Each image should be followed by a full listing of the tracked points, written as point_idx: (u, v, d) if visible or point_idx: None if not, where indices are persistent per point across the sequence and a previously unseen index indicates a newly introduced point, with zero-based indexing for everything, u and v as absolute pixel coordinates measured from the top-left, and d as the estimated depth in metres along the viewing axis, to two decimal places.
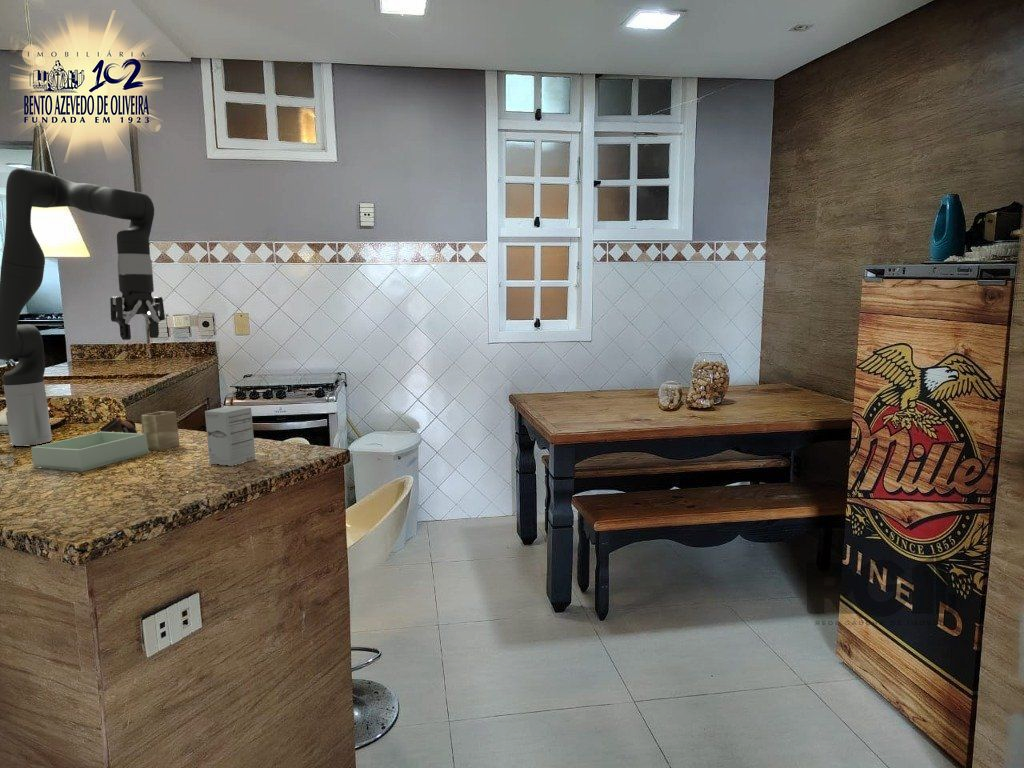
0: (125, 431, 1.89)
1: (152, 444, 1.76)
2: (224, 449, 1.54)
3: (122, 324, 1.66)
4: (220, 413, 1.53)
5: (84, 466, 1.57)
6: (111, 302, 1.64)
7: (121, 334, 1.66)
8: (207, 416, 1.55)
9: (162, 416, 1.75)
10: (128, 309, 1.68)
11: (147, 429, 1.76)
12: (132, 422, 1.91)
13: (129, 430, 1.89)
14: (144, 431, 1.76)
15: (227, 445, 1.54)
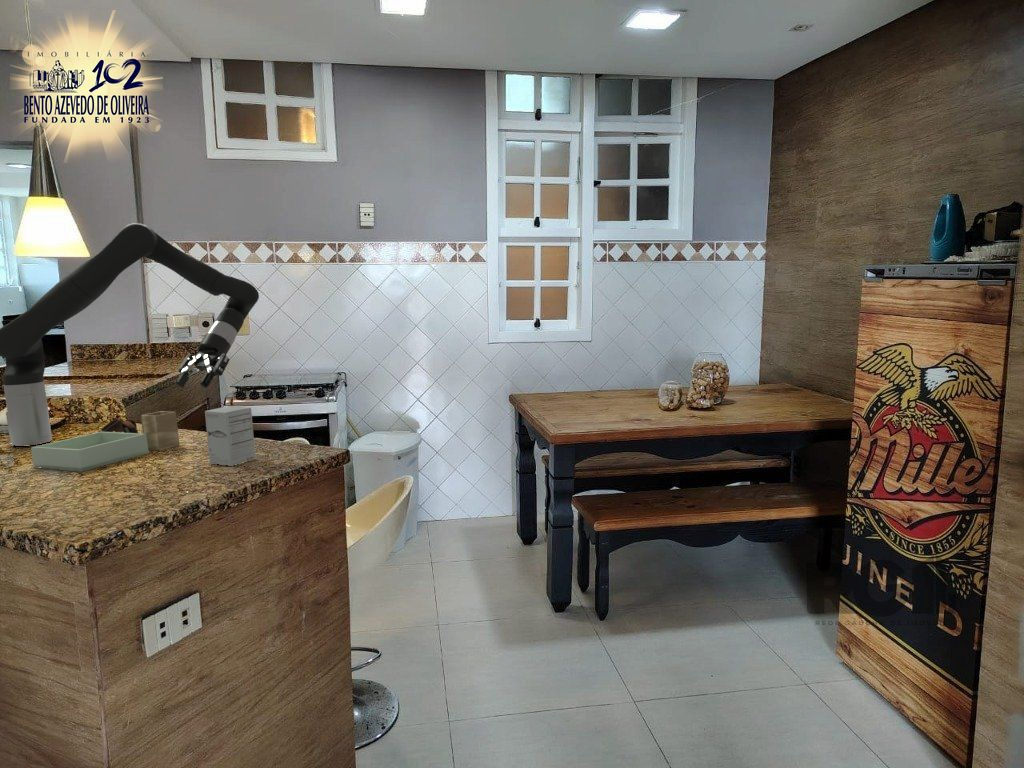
0: (126, 431, 1.89)
1: (152, 444, 1.76)
2: (224, 449, 1.54)
3: (213, 375, 1.88)
4: (220, 413, 1.53)
5: (84, 466, 1.57)
6: (223, 358, 1.89)
7: (207, 381, 1.86)
8: (207, 416, 1.55)
9: (162, 416, 1.75)
10: (211, 364, 1.90)
11: (147, 429, 1.76)
12: (133, 422, 1.91)
13: (130, 430, 1.89)
14: (144, 431, 1.76)
15: (227, 445, 1.54)
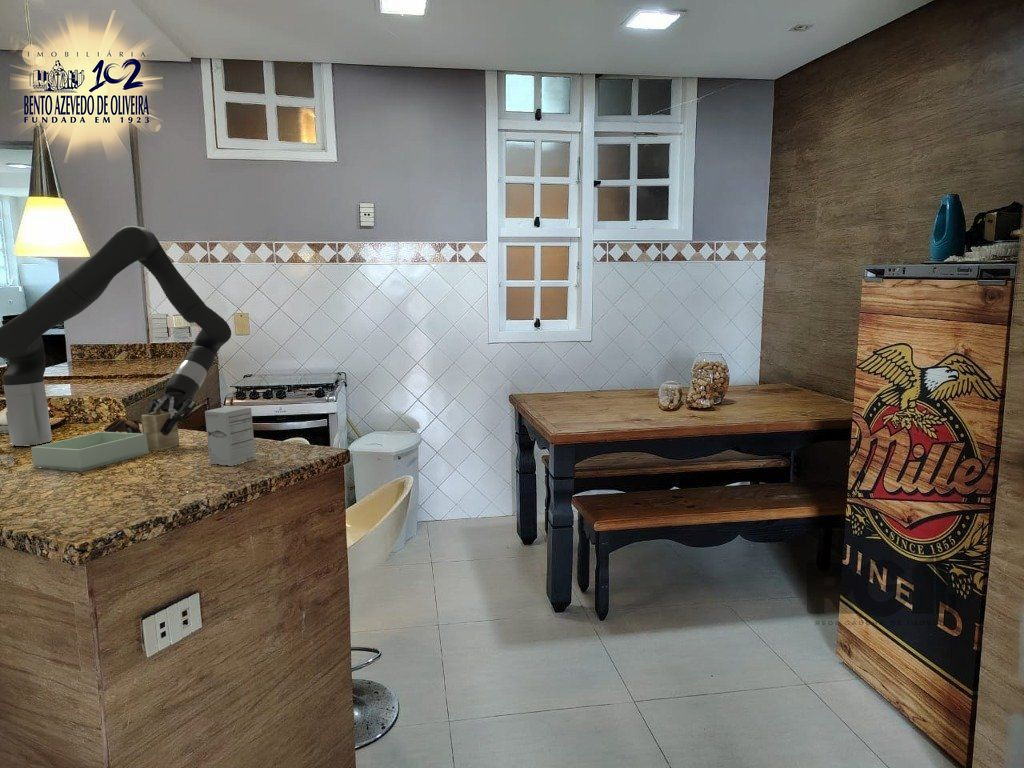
0: (129, 431, 1.89)
1: (152, 444, 1.76)
2: (224, 449, 1.54)
3: (175, 422, 1.77)
4: (220, 413, 1.53)
5: (84, 466, 1.57)
6: (188, 403, 1.78)
7: (168, 428, 1.76)
8: (207, 416, 1.55)
9: (162, 416, 1.75)
10: (176, 408, 1.80)
11: (147, 429, 1.76)
12: (136, 422, 1.91)
13: (133, 430, 1.89)
14: (144, 431, 1.76)
15: (227, 445, 1.54)
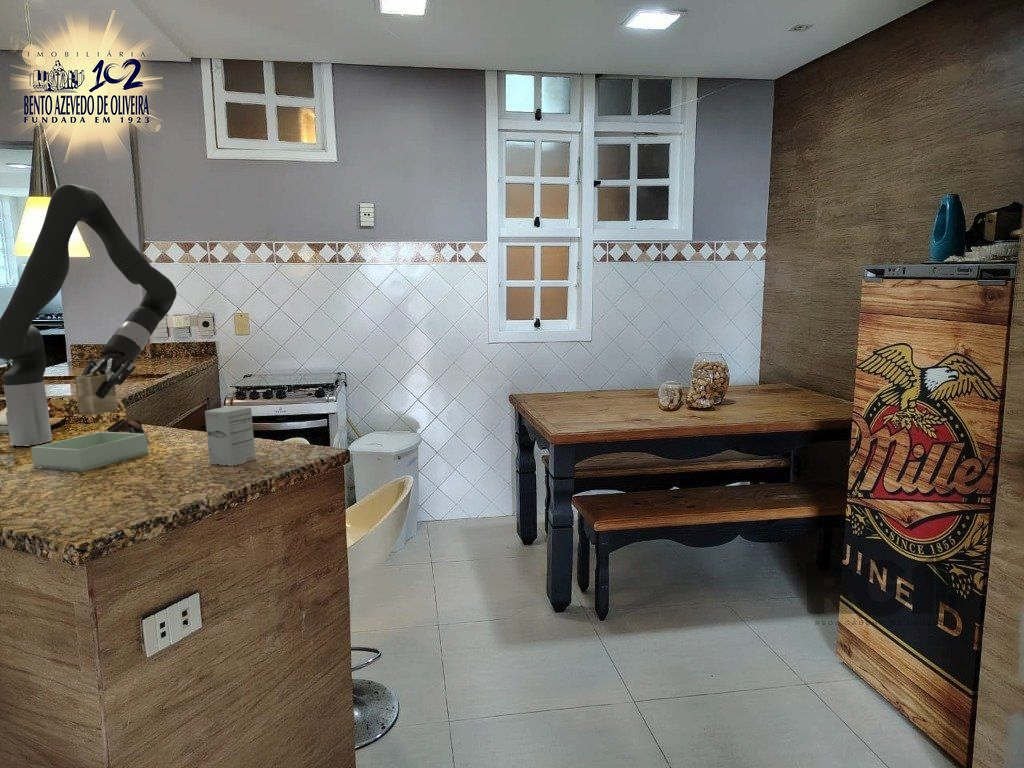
0: (132, 431, 1.89)
1: (87, 408, 1.65)
2: (224, 449, 1.54)
3: (111, 385, 1.67)
4: (220, 413, 1.53)
5: (84, 466, 1.57)
6: (127, 365, 1.68)
7: (103, 391, 1.65)
8: (207, 416, 1.55)
9: (98, 378, 1.65)
10: (114, 371, 1.69)
11: (81, 392, 1.65)
12: (139, 422, 1.90)
13: (136, 430, 1.88)
14: (78, 394, 1.65)
15: (227, 445, 1.54)
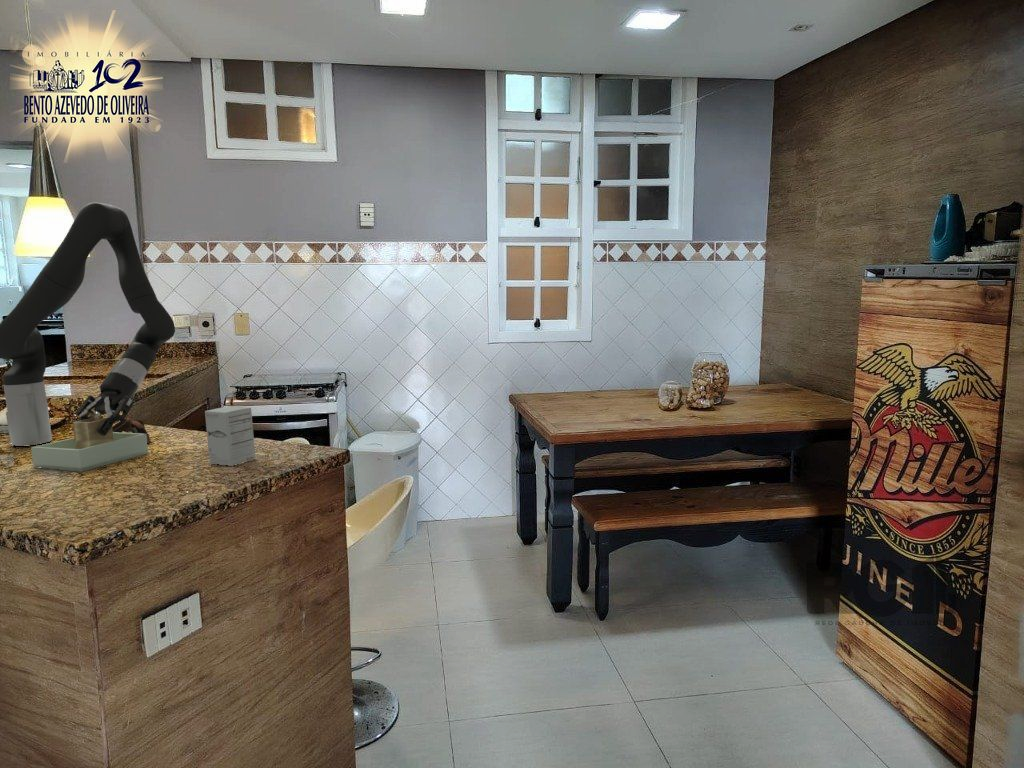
0: (134, 431, 1.88)
1: None
2: (224, 449, 1.54)
3: (113, 421, 1.66)
4: (220, 413, 1.53)
5: (84, 466, 1.57)
6: (126, 401, 1.68)
7: (105, 428, 1.64)
8: (207, 416, 1.55)
9: (95, 423, 1.65)
10: (112, 408, 1.69)
11: (79, 437, 1.65)
12: (141, 422, 1.90)
13: (138, 430, 1.88)
14: (76, 439, 1.65)
15: (227, 445, 1.54)
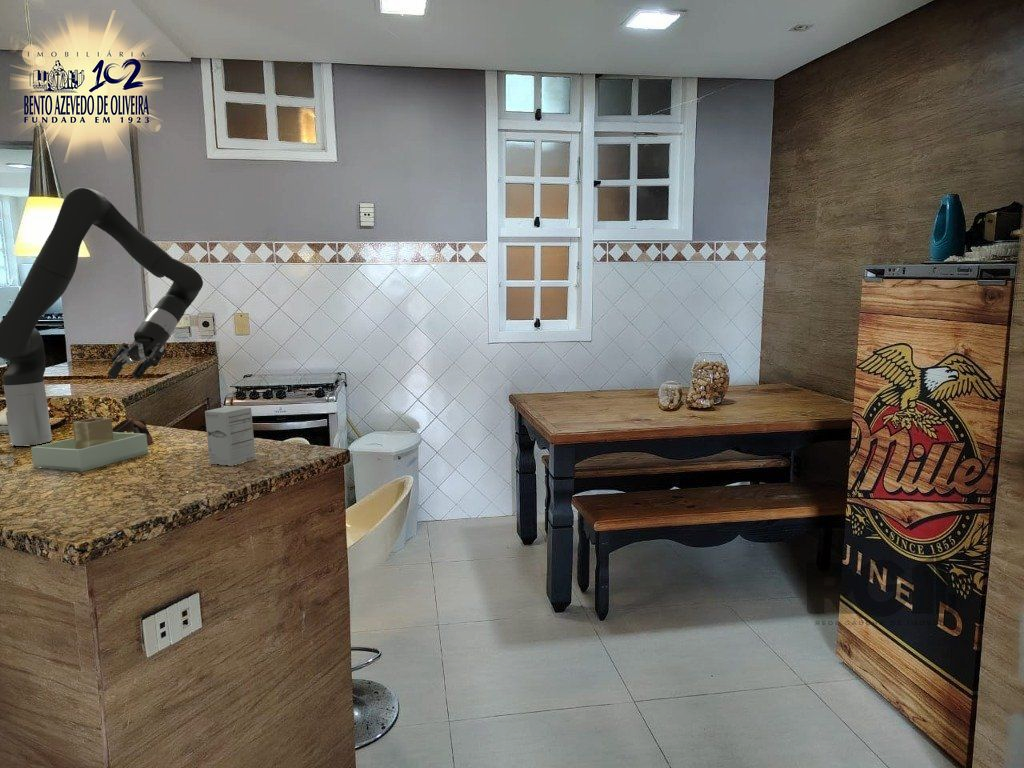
0: (136, 431, 1.88)
1: None
2: (224, 449, 1.54)
3: (147, 366, 1.76)
4: (220, 413, 1.53)
5: (84, 466, 1.57)
6: (159, 347, 1.77)
7: (139, 372, 1.74)
8: (207, 416, 1.55)
9: (95, 423, 1.65)
10: (146, 354, 1.78)
11: (79, 437, 1.65)
12: (143, 422, 1.90)
13: (140, 430, 1.88)
14: (76, 439, 1.65)
15: (227, 445, 1.54)
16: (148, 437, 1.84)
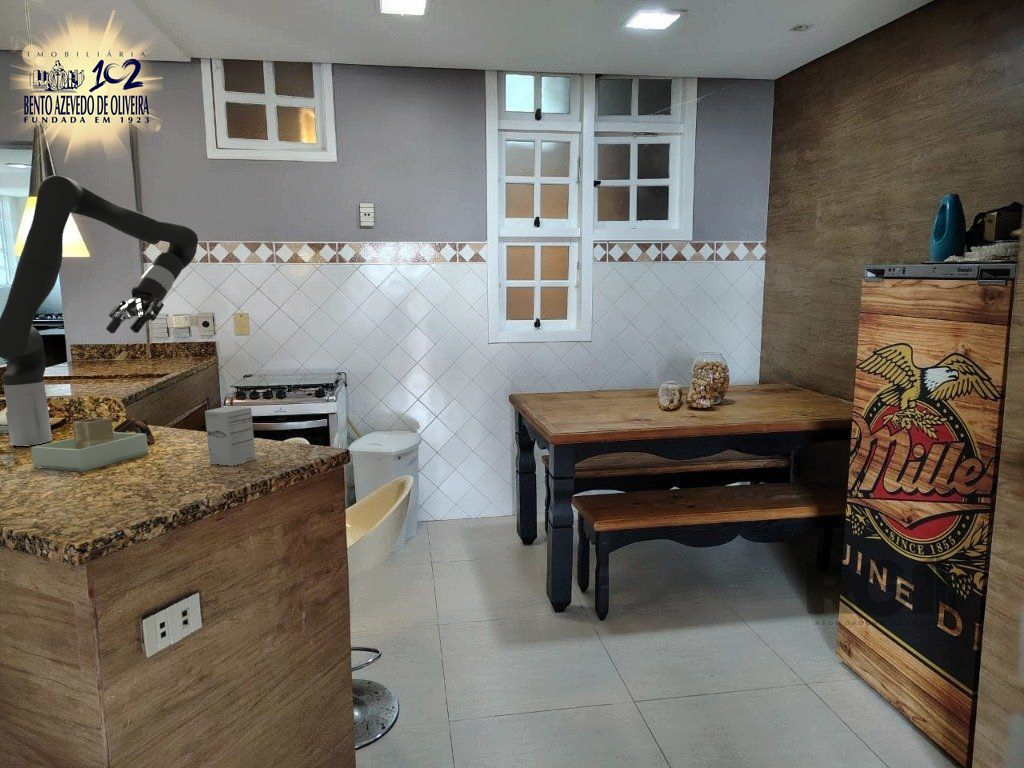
0: (138, 431, 1.88)
1: None
2: (224, 449, 1.54)
3: (145, 320, 1.77)
4: (220, 413, 1.53)
5: (84, 466, 1.57)
6: (157, 302, 1.78)
7: (138, 326, 1.75)
8: (207, 416, 1.55)
9: (95, 423, 1.65)
10: (144, 309, 1.79)
11: (79, 437, 1.65)
12: (145, 422, 1.90)
13: (142, 430, 1.88)
14: (76, 439, 1.65)
15: (227, 445, 1.54)
16: (150, 437, 1.84)
